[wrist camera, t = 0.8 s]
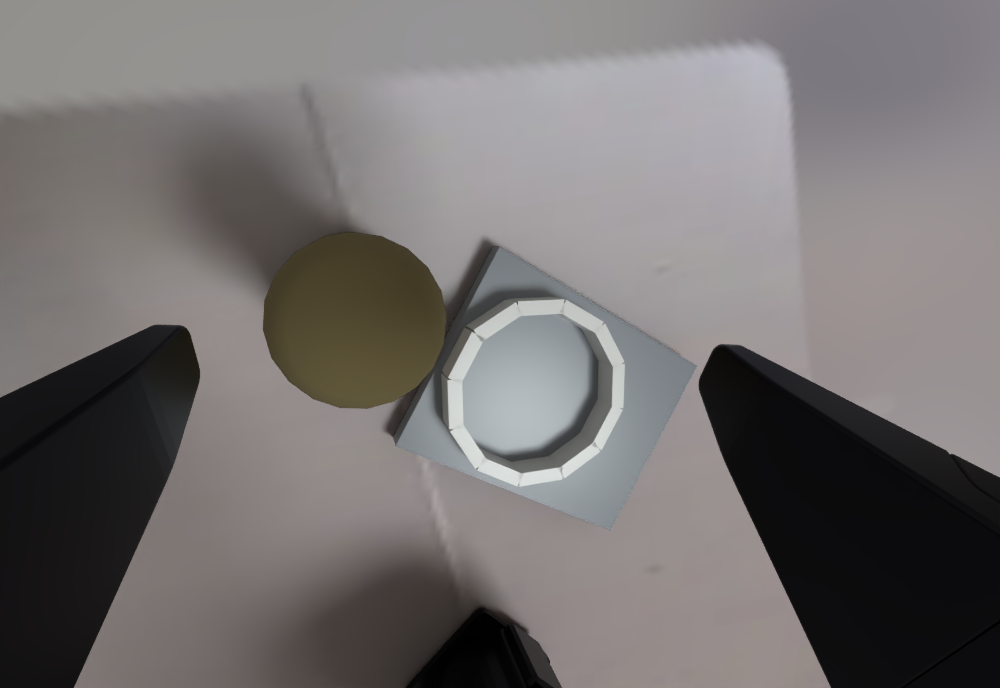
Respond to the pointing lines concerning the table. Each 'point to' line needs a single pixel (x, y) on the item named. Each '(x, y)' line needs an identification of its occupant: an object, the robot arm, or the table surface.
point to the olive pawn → (354, 320)
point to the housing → (544, 394)
